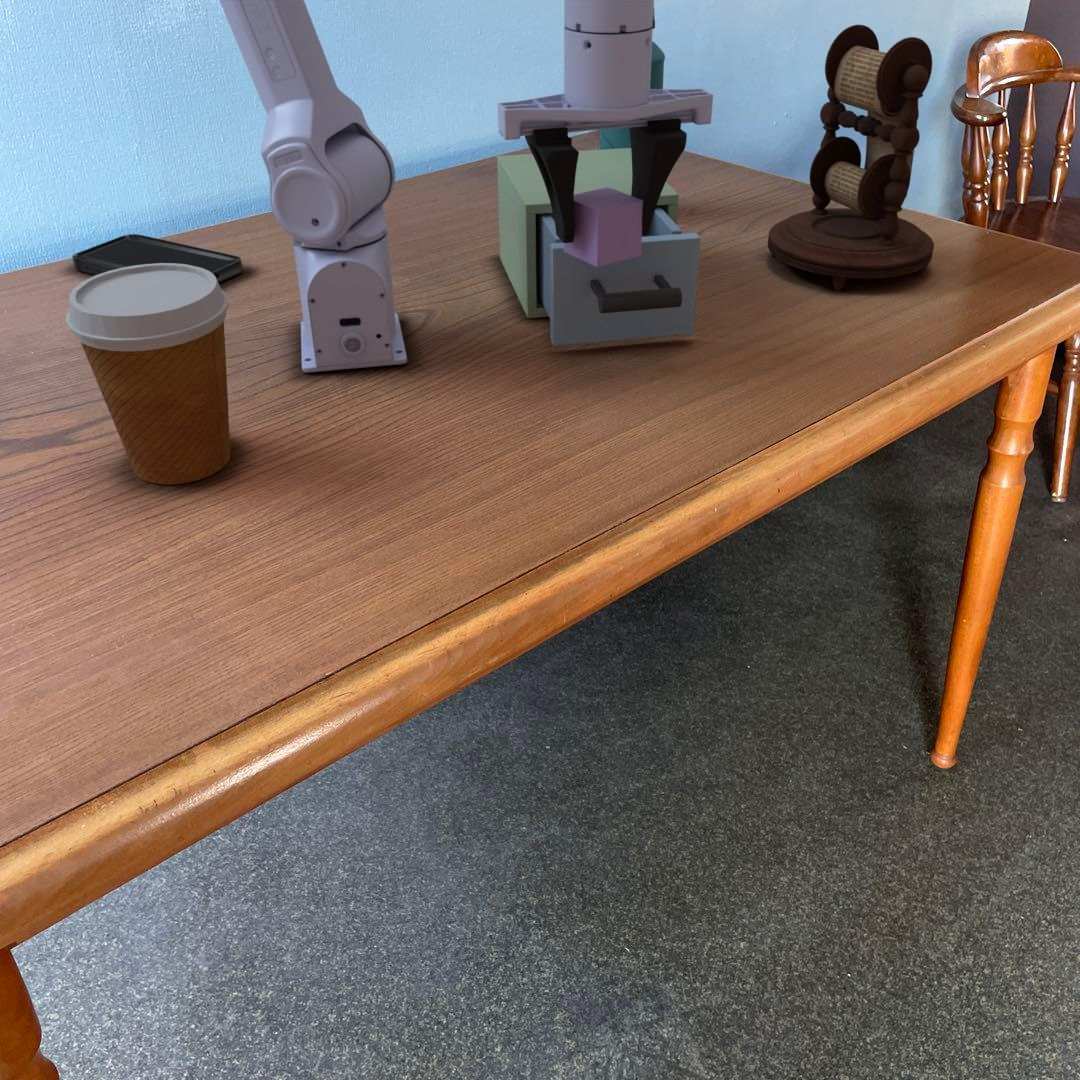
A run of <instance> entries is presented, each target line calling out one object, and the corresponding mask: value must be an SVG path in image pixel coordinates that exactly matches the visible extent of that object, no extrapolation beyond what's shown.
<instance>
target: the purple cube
mask: <svg viewBox="0 0 1080 1080" xmlns="http://www.w3.org/2000/svg"><path fill="white" fill-rule="evenodd" d="M642 216H643V200H641V199H638V198H636V197H633V196H630V195H628V194H625V193H622V192H620V191H617V190H615V189H612V188H609V187H606V188H601V189H597V190H593V191H588V192H584V193H579V194H575V195H574V226H575V231H574V241H573V242H572V243H564V252H565V253H567V254H570V255H572V256H574V257H576V258H578V259H580V260H583V261H585V262H587V263H589V264H591V265H593V266H596V267H601V266H604V265H608V264H612V263H615V262H619V261H623V260H626V259H630V258H634V257H637V256H641V241H642Z"/></svg>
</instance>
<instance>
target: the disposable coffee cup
mask: <svg viewBox="0 0 1080 1080" xmlns="http://www.w3.org/2000/svg"><path fill="white" fill-rule="evenodd" d="M229 302H230V301H229V297H228V294H227V293H226V291H224V290H223V289H222V288H221V286H220V283H218V281H217V279H216V277H215V276H214V274H212V273H211V272H210V271H208V270H206V269H203V268H200V267H196V266H191V265H187V264H176V263H156V264H143V265H134V266H129V267H124V268H119V269H115V270H111V271H107V272H104V273H101V274H98V275H95V274H94V275H93V276H91V277H89V278H87V279H85V280H82V281H81V282H79V284H77V285H76V286H75V287H73V288H72V290H71V291H70V293H69V295H68V311H67V312H66V314H65V319H64V320H65V324H66V325H67V327H68V329H69V331H71V332H72V333H73V334H74V337H75V338H76V339H77V341H78V342H80V345H81V346H82V350H83V351H84V354H85V356H86V359H87V361H88V364H89V366H90V369H91V370H92V373H93V375H94V378H95V381H96V383H97V386H98V387H99V390H100V392H101V395H102V398H103V400H104V402H105V404H106V407H107V410H108V412H109V414H110V417H111V419H112V421H113V424H114V426H115V428H116V431H117V434H118V437H119V438H120V441H121V444H122V447H123V448H124V451H125V453H126V456H127V458H128V461H129V463H130V465H131V468H132V471H133V473H134V475H136V476H137V478H139V479H141V480H142V481H145V482H148V483H152V484H155V485H156V484H157V485H181V484H187V483H192V482H196V481H199V480H201V479H205V478H208V477H210V476H212V475H214V474H216V473H218V472H219V471H221V470H222V469H223V468H224V467H225V466H226V465H227V464H228V462H229V461H230V459H231V455H232V454H231V453H232V452H231V438H230V417H229V416H230V415H229V395H228V381H227V380H228V379H227V377H228V374H227V354H226V336H225V320H226V317H227V310H228V309H229Z"/></svg>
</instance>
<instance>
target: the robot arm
mask: <svg viewBox="0 0 1080 1080" xmlns="http://www.w3.org/2000/svg"><path fill="white" fill-rule="evenodd" d="M219 3H220V5H221V7H222V11H223V12H224V15H225V18H226V20H227V22H228V25H229V27H230V29H231V31H232V34H233V36H234V40H235V41H236V44H237V46H238V49H239V51H240V53H241V56H242V58H243V60H244V63H245V65H246V68H247V70H248V72H249V75H250V77H251V80H252V82H253V84H254V87H255V89H256V91H257V94H258V96H259V99H260V101H261V104H262V106H263V109H264V110H265V114H266V120H265V126H264V131H263V135H262V140H261V145H260V156H261V158H262V160H263V162H264V165H265V167H266V170H267V174H268V175H267V176H268V180H269V203H270V208H271V210H272V213H273V215H274V218H275V219H276V221H277V223H278V224H279V225H280V226H281V229H283V231H285V232H286V233H287V234H288V235H289V236H290V237H291V243H292V244H291V245H292V247H293V255H294V261H295V270H296V275H297V276H296V277H297V283H298V290H299V298H300V306H301V310H302V316H303V317H302V320H301V321H300V345H301V346H300V347H301V348H300V349H301V351H300V352H301V370H302V372H304V373H319V372H331V371H341V370H350V369H365V368H374V367H375V368H376V367H384V366H385V367H386V366H396V365H399V366H400V365H404V364H407V362H408V356H407V352H406V347H405V342H404V337H403V333H402V328H401V324H400V319H399V314H398V313H396V311H395V302H394V291H393V279H392V269H391V257H390V256H391V255H390V245H389V234H388V222H387V219H386V217H385V212H384V211H385V209H384V204H385V203H386V202H387V201H388V200H389V198H390V196H391V195H392V193H393V191H394V188H395V184H396V168H395V164H394V160H393V158H392V156H391V154H390V152H389V149H388V148H387V147H386V146H385V144H384V143H383V142H382V141H381V139H379V138H378V137H377V136H376V134H374V132H373V131H372V130H371V128H370V127H369V125H368V123H367V120H366V118H365V115H364V113H363V110H362V109H361V107H360V106H359V105H358V104H357V103H356V102H355V101H354V100H353V99H352V98H350V97H349V96H348V95H346V94H345V93H344V92H343V91H342V90H341V89H340V88H339V87H338V86H337V83H336V80H335V78H334V75H333V73H332V70H331V67H330V65H329V62H328V59H327V56H326V54H325V52H324V49H323V46H322V43H321V41H320V39H319V36H318V34H317V31H316V28H315V26H314V23H313V21H312V20H313V19H312V17H311V15H310V12H309V10H308V7H307V5H306V2H305V0H219ZM563 14H564V15H563V25H564V26H563V93H558V94H553V95H552V94H551V95H547V96H541V97H536V98H530V99H524V100H517V101H516V100H515V101H508V102H498V103H497V128H498V130H497V133H498V134H499V136H501V138H503V139H504V140H505V141H513V140H519V139H521V137H524V138H525V141H526V144H527V146H528V148H529V150H530V152H531V154H533V156H534V159H535V161H536V163H537V165H538V168H539V170H540V173H541V175H542V178H543V181H544V183H545V186H546V189H547V193H548V196H549V199H550V203H551V207H552V211H553V216H554V221H555V228H556V235H557V236H558V237H559V238H560V240H561V241H562V242H563V243H572V242H573V241H574V231H575V226H574V186H575V176H576V168H577V161H578V155H579V152H578V151H579V150H578V149H576V148H575V147H574V146H573V145H572V144H573V139H572V137H570V136H569V133H578V132H591V131H600V130H605V129H618V128H629V131H630V141H631V154H632V192H631V196H633V197H636V198H638V199H641V200H643V216H642V235H648V234H649V231H650V227H651V223H652V219H653V216H654V212H655V209H656V206H657V203H658V200H659V197H660V195H661V192H662V190H663V187H664V185H665V183H666V182H667V180H668V178H669V177H670V174H671V173H672V171H673V169H674V167H675V165H676V163H677V162H678V160H679V158H680V157H681V155H682V153H683V152H685V150H686V146H687V139H688V137H687V135H688V133H687V132H686V131H685V130H683V129H682V124H692V123H693V124H694V125H696V126H697V125H698V126H701V125H710V124H712V115H713V101H714V95H713V93H711V92H709V91H707V90H705V89H704V88H686V89H685V88H684V89H683V88H681V89H680V88H679V89H671V88H670V89H668V88H667V89H666V88H665V89H664V88H663V89H650V77H651V55H652V42H653V33H654V32H653V30H654V29H653V15H654V16H655V0H564V1H563Z"/></svg>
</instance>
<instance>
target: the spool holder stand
mask: <svg viewBox="0 0 1080 1080" xmlns="http://www.w3.org/2000/svg"><path fill="white" fill-rule="evenodd" d="M879 44H880V43H879V40H878V37H877V34H876V33H875V31H874V30H873V29H871V27H869V26H867V25H863V24H854V25H853V24H852V25H849V26H847V27H846V28H844V29H843V30H842V31H841V32H840V33H839V34H838V35H837V36H836V37H835V39H834V40H833V41H832V43H831V44H830V47H829V49H828V51H827V54H826V56H825V63H824V76H825V80H826V83H827V85H828V89H827V92H826V95H827V99H828V101H827V102H825V103H824V104H823V105H822V106H821V109H820V111H819V112H820V113H819V119H820V121H821V123H822V124H823V126H822V129H823V130H824V131H825V132H824V135H823V138H822V140H821V142H820V145H819V149H818V151H817V153H816V154H815V156H814V158H813V159H812V162H811V165H810V169H809V184H810V188H811V190H812V192H813V194H812V199H811V201H812V204H813V206H814V207H815V208H812V209H810V210H807V211H801V212H799V213H795V214H792V215H790V216H788V217H787V218H784V219H783V220H780V221H778V222H776V223H775V224H774V225H773V226H772V227H770V229H769V231H768V238H767V249H768V251H769V253H770V255H771V256H772V257H773V258H776V259H778V260H779V261H781V262H783V263H784V264H786V265H789V266H791V267H794V268H795V269H796V268H797V269H799V270H803V271H806V272H810V273H815V274H819V275H825V276H831V277H832V285H833V288H834V290H835V291H840V290H842V288H843V286H844V285H845V282H846V280H847V278H850V279H884V278H892V277H893V278H894V277H900V276H905V275H908V274H912V273H915V272H917V273H919V274H924V272H925V271H926V270H927V268H928V266H929V264H930V263H931V262H932V259H933V256H934V255H933V254H934V248H935V243H934V240H933V239H932V237H931V236H930V235H929V234H928V233H926V232H925V231H924V230H923V229H921V228H920V227H918V226H917V225H916V224H914V223H912V222H910V221H909V220H905V219H903V218H901V217H899V215H898V213H899V212H902V210H903V207H902V206H903V204H904V202H905V200H906V198H907V196H908V192H909V188H910V185H911V178H912V171H913V163H914V154H915V149H916V148H917V146H918V144H919V143H920V139H921V136H920V135H921V134H920V130H919V129H918V120H919V116H920V111H919V99H921V98H922V97H923V96H924V94H923V93H924V92H925V90H926V89H927V87H928V85H929V82H930V79H931V75H932V72H933V56H932V51H931V49H930V47H929V44H928V43H926V41H924V40H923V39H922V38H919V37H916V36H909V37H905V38H902V39H900V40H898V41H897V42H896V43H895V44H893V45H892V46H891V47H890V48H889V49H888V50H887V52H885V51H880V45H879ZM846 105H848V106H851V107H854V108H857V109H861V110H863V111H866V112H867V115H864V114H860V115H859V114H858V115H857V114H856V113H855V112H854V111H852V110H849V109H847V107H846ZM840 126H841V127H842V128H845V129H852V128H853V130H854V131H855V132H856V133H859V134H860V135H862V136H865V137H866V139H865V140H866V143H865V144H866V145H865V160H864V167H861V165H862V153H861V149H860V146H859V144H858V143H857V142H856V141H855V140H854V139H853V138H851V137H848V136H843V135H841V136H837V131H839V130H840V129H841V127H840ZM831 201H833V202H835V203H837V204H839V205H842V206H844V207H833V208H832V207H831V208H827V207H828V206H829V205H830V203H831ZM846 207H847V208H846Z"/></svg>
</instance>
